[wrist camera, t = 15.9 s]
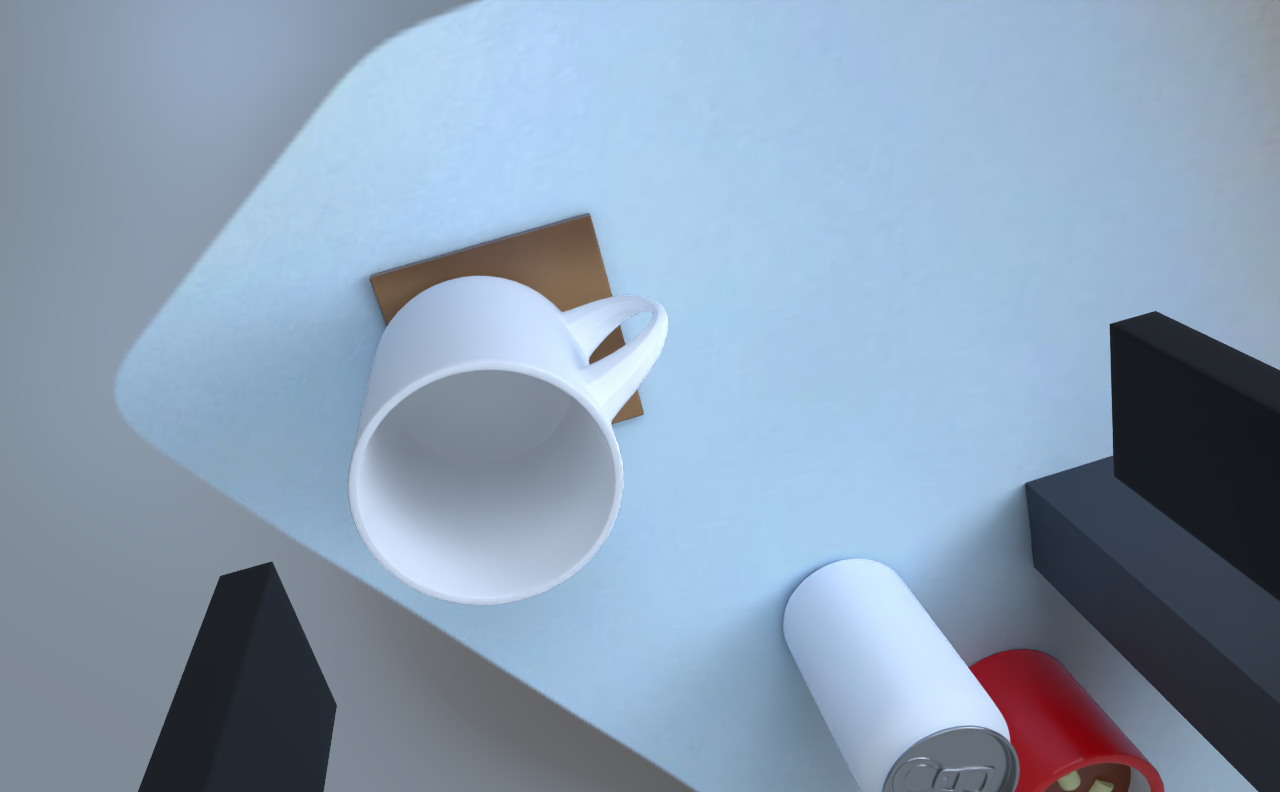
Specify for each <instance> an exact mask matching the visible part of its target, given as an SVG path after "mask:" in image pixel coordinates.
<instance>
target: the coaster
mask: <svg viewBox="0 0 1280 792" xmlns="http://www.w3.org/2000/svg"><path fill="white" fill-rule="evenodd" d="M468 276H492V277H499V278H505V279H508V280H512V281H516V282H518V283H520V284H523V285H525V286H528V287H530V288H531V289H533V290H535V291H537V292H538V293H540V294H541V295H543V296H544V297H545V298H547V299H548V300H549V301H551V302H552V303H553V304H554V305H555V306H556V307H557V308H558V309H559V310H560V311H561V312H565V311H568V310H571V309H574V308H576V307H579V306H582V305H585V304H588V303H591V302H594V301H597V300H601V299H605V298H609V297H612V294H611V290H610V286H609V283H608V279H607V275H606V271H605V268H604V264H603V260H602V257H601V253H600V249H599V246H598V242H597V238H596V234H595V231H594V227H593V223H592V220H591V216H590V214H589V213H587V214H583V215H580V216H576V217H573V218H569V219H566V220H562V221H559V222H555V223H552V224H548V225H545V226H541V227H538V228H534V229H531V230H527V231H524V232H520V233H517V234H513V235H510V236H506V237H503V238H499V239H496V240H492V241H489V242H485V243H482V244H478V245H475V246H471V247H468V248H464V249H461V250H457V251H454V252H450V253H447V254H443V255H440V256H436V257H433V258H429V259H426V260H422V261H419V262H415V263H412V264H408V265H405V266H401V267H398V268H394V269H391V270H387V271H383V272H380V273H376V274H373V275H371V276H370V282H371V284H372V287H373V290H374V292H375V295H376V298H377V301H378V303H379V306H380V309H381V311H382V314H383V317H384V319H385V322H386V325H387V326H388V324H389V322H390V321H391V320H392V319H393V317H394V316H395V315H396V314H397V312H398V311H399V310H400V309H401V308H402V307H404V306H405V305H406V304H407V303H408V302H409V301H410V300H411V299H413V298H414V297H415V296H417V295H418V294H420V293H421V292H423V291H425V290H426V289H428V288H430V287H432V286H434V285H437V284H439V283H442V282H444V281H447V280H451V279H456V278H460V277H468ZM623 346H625V342H624V338H623V335H622V331H621V327H620V325H619V326H618V327H616V328H615V329H614V330H613V331H612V332H611V333H610V334H609V335H608V336H607V337H606V338H605V339H604V340H603V341H602V342H601V344H600V345H599V346H598V347H597V348H596V349H595V350H594V352H593V353H592V354H591V356H590V357H589V364H593V363H595V362H597V361H599V360H601V359H603V358H605V357H606V356H608V355H610V354H612V353H614V352H615V351H617V350H618V349H620V348H622V347H623ZM643 414H644V412H643V409H642V405H641V401H640V398H639V394H638V390H636V391H635V392H634V394H633V395H632V396H631V397H630V399H629V400H628V401H627V402H626V403H625V405H624V406H623V407H622V408H621V409H620V410H619V412H618V413H617V414H616V416H615V417H614V418H613V420H612V423H611V424H613V423H616V422H620V421H623V420H627V419H630V418H633V417H637V416H640V415H643Z"/></svg>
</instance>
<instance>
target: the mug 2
mask: <svg viewBox="0 0 1280 792" xmlns="http://www.w3.org/2000/svg"><path fill="white" fill-rule="evenodd" d="M969 669H970V671H971V672H972V673H973V675H974V676H975V677H976V679H977V680H978V681H979V683H980V684H981V685H982V687H983V688H984V690H985V691H986V692H987V694H988V695H989V696H990V698H991V699H992V701H993V702H994V703H995V705H996V706H997V708H998V709H999V711H1000V712H1001V714H1002V716H1003V717H1004V719H1005V721H1006V724H1007V726H1008V730H1009V734H1010V742H1011V744H1012V746H1013V747H1014V749H1015V751H1016V753H1017V755H1018V759H1019V764H1020V774H1019V780H1018V784H1017V787H1016V789H1015V792H1165V791H1164V785H1163V782H1162V779H1161V777H1160V775H1159V773H1158V771H1157V770H1156V769H1155V768H1154V767H1153V765H1152V764H1151V763H1150V762H1149V761H1148V760H1147V759H1146V758H1145V757H1144V755H1143V754H1142V753H1141V752H1140V751H1139V750H1138V749H1137V748H1136V747H1135V745H1134V744H1133V743H1132V742H1131V741H1130V740H1129V739H1128V738H1127V737H1126V735H1125V734H1124V733H1123V732H1122V731H1121V730H1120V729H1119V728H1118V727H1117V725H1116V724H1115V723H1114V722H1113V721H1112V720H1111V719H1110V718H1109V716H1108V715H1107V714H1106V713H1105V712H1104V711H1103V710H1102V709H1101V708H1100V706H1099V705H1098V704H1097V703H1096V702H1095V701H1094V700H1093V699H1092V698H1091V696H1090V695H1089V694H1088V693H1087V692H1086V691H1085V690H1084V689H1083V688H1082V686H1081V685H1080V684H1079V683H1078V682H1077V681H1076V680H1075V679H1074V678H1073V676H1072V675H1071V674H1070V673H1069V672H1068V671H1067V670H1066V669H1065V668H1064V666H1063V665H1062V664H1061V663H1060V662H1059V661H1058V660H1056V659H1055V658H1053V657H1052V656H1050V655H1048V654H1046V653H1043V652H1040V651H1036V650H1028V649H1019V650H1009V651H1005V652H1000V653H997V654H994V655H992V656H989V657H987V658H984V659H982V660H981V661H979V662H977V663H976V664H974V665H972V666H971V667H969Z"/></svg>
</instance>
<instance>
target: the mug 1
mask: <svg viewBox="0 0 1280 792" xmlns="http://www.w3.org/2000/svg"><path fill="white" fill-rule="evenodd" d="M644 311H651V312H652V313H653V317H652V320H651V321H650V323H649V324H648V326H647V327H646V328H645V329H644V330H643V331H642V332H641V333H640V334H639V335H638V336H636V337H635V338H634V339H633V340H631V341H630V342H629V343H627V344H626V345H625V346H623V347H622V348H620V349H618V350H617V351H615V352H614V353H612V354H610V355H608V356H606V357H605V358H603V359H601V360H599V361H597V362H595V363H593V364H589V357H590V356H591V354H592V353H593V352H594V350H595V349H596V348H597V347H598V346H599V345H600V344H601V342H602V341H603V340H604V339H605V338H606V337H607V336H608V335H609V334H610V333H611V332H612V331H613V330H614V329H615V328H616V327H618V326H619V325H620V324H621V323H623V322H624V321H625V320H627V319H628V318H630V317H632V316H634V315H636V314H638V313H640V312H644ZM667 332H668V317H667V314H666V312H665V310H664V308H663V307H662V306H661V305H660V304H659V303H658V302H656V301H655V300H653V299H650V298H648V297H644V296H639V295H622V296H615V297H609V298H605V299H601V300H597V301H594V302H591V303H588V304H585V305H582V306H579V307H576V308H574V309H571V310H568V311H565V312H561V311H560V310H559V309H558V308H557V307H556V306H555V305H554V304H553V303H552V302H551V301H549V300H548V299H547V298H545V297H544V296H543V295H541V294H540V293H538V292H537V291H535V290H533V289H531V288H530V287H528V286H525V285H523V284H520V283H518V282H516V281H512V280H508V279H505V278H499V277H492V276H468V277H460V278H456V279H451V280H447V281H444V282H442V283H439V284H437V285H434V286H432V287H430V288H428V289H426V290H425V291H423V292H421V293H420V294H418V295H417V296H415V297H414V298H413V299H411V300H410V301H409V302H408V303H407V304H406V305H405V306H404V307H402V308H401V309H400V310H399V311H398V312H397V314H396V315H395V316H394V317H393V319H392V320H391V321H390V322H389V324H388V326H387V327H386V329H385V331H384V333H383V334H382V337H381V339H380V341H379V344H378V346H377V349H376V351H375V355H374V359H373V363H372V367H371V371H370V376H369V380H368V385H367V389H366V394H365V399H364V403H363V408H362V412H361V417H360V421H359V426H358V430H357V435H356V439H355V444H354V449H353V453H352V458H351V462H350V467H349V477H348V497H349V504H350V509H351V513H352V517H353V520H354V522H355V525H356V528H357V531H358V533H359V534H360V536H361V538H362V540H363V542H364V544H365V545H366V547H367V548H368V549H369V551H370V552H371V553H372V555H373V556H374V557H375V559H376V560H377V561H378V562H379V563H380V564H381V565H382V566H383V567H384V568H385V569H386V570H387V571H388V572H390V573H391V574H392V575H393V576H395V577H396V578H397V579H399V580H400V581H401V582H403V583H405V584H406V585H408V586H410V587H412V588H413V589H415V590H417V591H419V592H422V593H424V594H426V595H429V596H431V597H434V598H438V599H441V600H444V601H449V602H454V603H460V604H469V605H497V604H504V603H510V602H515V601H519V600H523V599H526V598H530V597H533V596H535V595H538V594H540V593H543V592H546V591H548V590H549V589H551V588H553V587H555V586H557V585H559V584H561V583H562V582H564V581H565V580H567V579H568V578H570V577H571V576H572V575H574V574H575V573H576V572H577V571H579V570H580V569H581V568H582V567H583V566H584V565H585V564H587V562H588V561H589V560H590V559H591V558H592V557H593V556H594V555H595V554H596V552H597V551H598V550H599V548H600V547H601V546H602V544H603V543H604V541H605V540H606V538H607V537H608V535H609V533H610V531H611V529H612V527H613V525H614V523H615V520H616V517H617V514H618V512H619V509H620V504H621V499H622V494H623V482H624V474H623V463H622V458H621V454H620V449H619V446H618V443H617V440H616V438H615V435H614V432H613V429H612V426H611V423H612V420H613V418H614V417H615V416H616V414H617V413H618V412H619V410H620V409H621V408H622V407H623V406H624V405H625V403H626V402H627V401H628V400H629V399H630V397H631V396H632V395H633V394H634V392H635V391H636V390H637V389H638V388H639V386H640V385H641V384H642V382H643V381H644V380H645V378H646V377H647V376H648V374H649V372H650V371H651V369H652V368H653V366H654V365H655V363H656V361H657V359H658V357H659V355H660V353H661V352H662V349H663V347H664V344H665V341H666V338H667Z"/></svg>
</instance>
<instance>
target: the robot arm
mask: <svg viewBox="0 0 1280 792" xmlns="http://www.w3.org/2000/svg"><path fill="white" fill-rule="evenodd" d="M1110 351H1111V387H1112V422H1113V458H1114V477H1116V478H1117V479H1118V480H1120V481H1121V482H1122V483H1124V484H1125V485H1126V486H1128V487H1129V488H1130V489H1132V490H1133V491H1134V492H1136V493H1137V494H1138V495H1140V496H1141V497H1142V498H1144V499H1145V500H1146V501H1148V502H1149V503H1150V504H1151V505H1153V506H1154V507H1155V508H1157V509H1158V510H1159V511H1161V512H1162V513H1163V514H1165V515H1166V516H1167V517H1169V518H1170V519H1171V520H1173V521H1174V522H1175V523H1177V524H1178V525H1179V526H1181V527H1182V528H1183V529H1185V530H1186V531H1187V532H1189V533H1190V534H1191V535H1193V536H1194V537H1195V538H1197V539H1198V540H1199V541H1200V542H1202V543H1203V544H1204V545H1206V546H1207V547H1208V548H1210V549H1211V550H1212V551H1214V552H1215V553H1216V554H1218V555H1219V556H1220V557H1222V558H1223V559H1224V560H1226V561H1227V562H1228V563H1230V564H1231V565H1232V566H1234V567H1235V568H1236V569H1238V570H1239V571H1240V572H1242V573H1243V574H1244V575H1245V576H1247V577H1248V578H1249V579H1251V580H1252V581H1253V582H1255V583H1256V584H1257V585H1259V586H1260V587H1261V588H1263V589H1264V590H1265V591H1267V592H1268V593H1269V594H1271V595H1272V596H1273V597H1275V598H1276V599H1277V600H1279V601H1280V370H1278V369H1276V368H1274V367H1272V366H1270V365H1267V364H1265V363H1263V362H1261V361H1259V360H1257V359H1255V358H1253V357H1251V356H1249V355H1247V354H1244V353H1242V352H1240V351H1238V350H1236V349H1234V348H1232V347H1230V346H1228V345H1226V344H1223V343H1221V342H1219V341H1217V340H1215V339H1213V338H1211V337H1209V336H1207V335H1205V334H1203V333H1200V332H1198V331H1196V330H1194V329H1192V328H1190V327H1188V326H1186V325H1184V324H1182V323H1179V322H1177V321H1175V320H1173V319H1171V318H1169V317H1167V316H1165V315H1163V314H1161V313H1159V312H1156V311H1154V312H1151V313H1147V314H1144V315H1140V316H1137V317H1133V318H1130V319H1126V320H1122V321H1119V322H1115V323H1112V324H1110ZM336 707H337V705H336V702H335V700H334V698H333V696H332V694H331V691H330V689H329V687H328V685H327V683H326V680H325V678H324V676H323V674H322V671H321V669H320V667H319V665H318V663H317V660H316V658H315V656H314V653H313V651H312V649H311V647H310V645H309V642H308V640H307V638H306V636H305V633H304V631H303V629H302V627H301V625H300V623H299V620H298V618H297V616H296V613H295V611H294V609H293V607H292V604H291V602H290V600H289V598H288V596H287V593H286V591H285V589H284V587H283V584H282V582H281V580H280V578H279V576H278V573H277V571H276V569H275V567H274V564H273V562H269V563H265V564H261V565H258V566H254V567H251V568H247V569H244V570H240V571H237V572H233V573H230V574H226V575H222V576H220V578H219V580H218V583H217V586H216V588H215V591H214V594H213V596H212V599H211V601H210V604H209V607H208V609H207V612H206V615H205V617H204V620H203V622H202V625H201V628H200V630H199V633H198V636H197V638H196V641H195V643H194V646H193V649H192V651H191V654H190V657H189V659H188V662H187V665H186V667H185V670H184V672H183V675H182V678H181V680H180V683H179V685H178V688H177V691H176V694H175V696H174V699H173V701H172V704H171V706H170V709H169V712H168V714H167V717H166V720H165V722H164V725H163V727H162V730H161V733H160V736H159V738H158V741H157V743H156V746H155V748H154V751H153V754H152V757H151V759H150V762H149V765H148V767H147V769H146V772H145V775H144V777H143V780H142V783H141V785H140V788H139V791H138V792H323V791H324V785H325V778H326V772H327V765H328V759H329V752H330V746H331V739H332V732H333V726H334V720H335V713H336Z"/></svg>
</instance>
